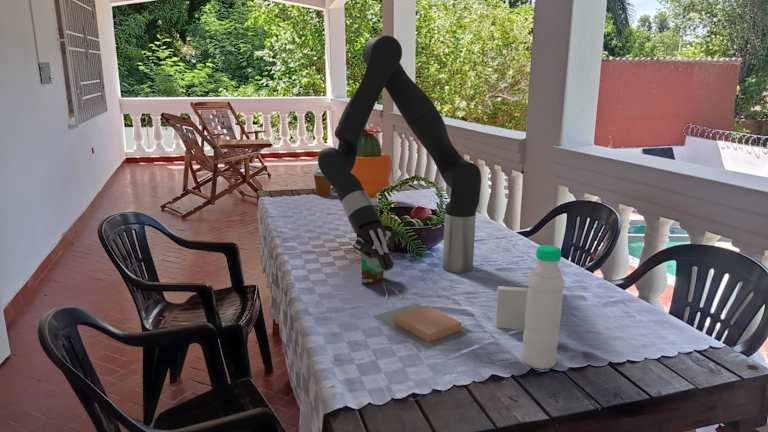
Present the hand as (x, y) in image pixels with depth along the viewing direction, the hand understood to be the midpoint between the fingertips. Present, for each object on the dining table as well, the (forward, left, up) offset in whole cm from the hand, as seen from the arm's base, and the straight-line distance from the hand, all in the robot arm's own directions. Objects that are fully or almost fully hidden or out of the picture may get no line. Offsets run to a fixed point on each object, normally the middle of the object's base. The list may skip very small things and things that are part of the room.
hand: (389, 269), depth 140 cm
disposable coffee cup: (-102, -88, -10) cm, 135 cm away
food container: (-15, -12, -10) cm, 22 cm away
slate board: (+6, +11, -10) cm, 16 cm away
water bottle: (+10, +40, -10) cm, 42 cm away
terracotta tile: (+4, +8, -9) cm, 13 cm away
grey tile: (-3, +31, -10) cm, 33 cm away
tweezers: (-11, -6, -11) cm, 16 cm away
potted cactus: (-100, -61, -10) cm, 118 cm away
